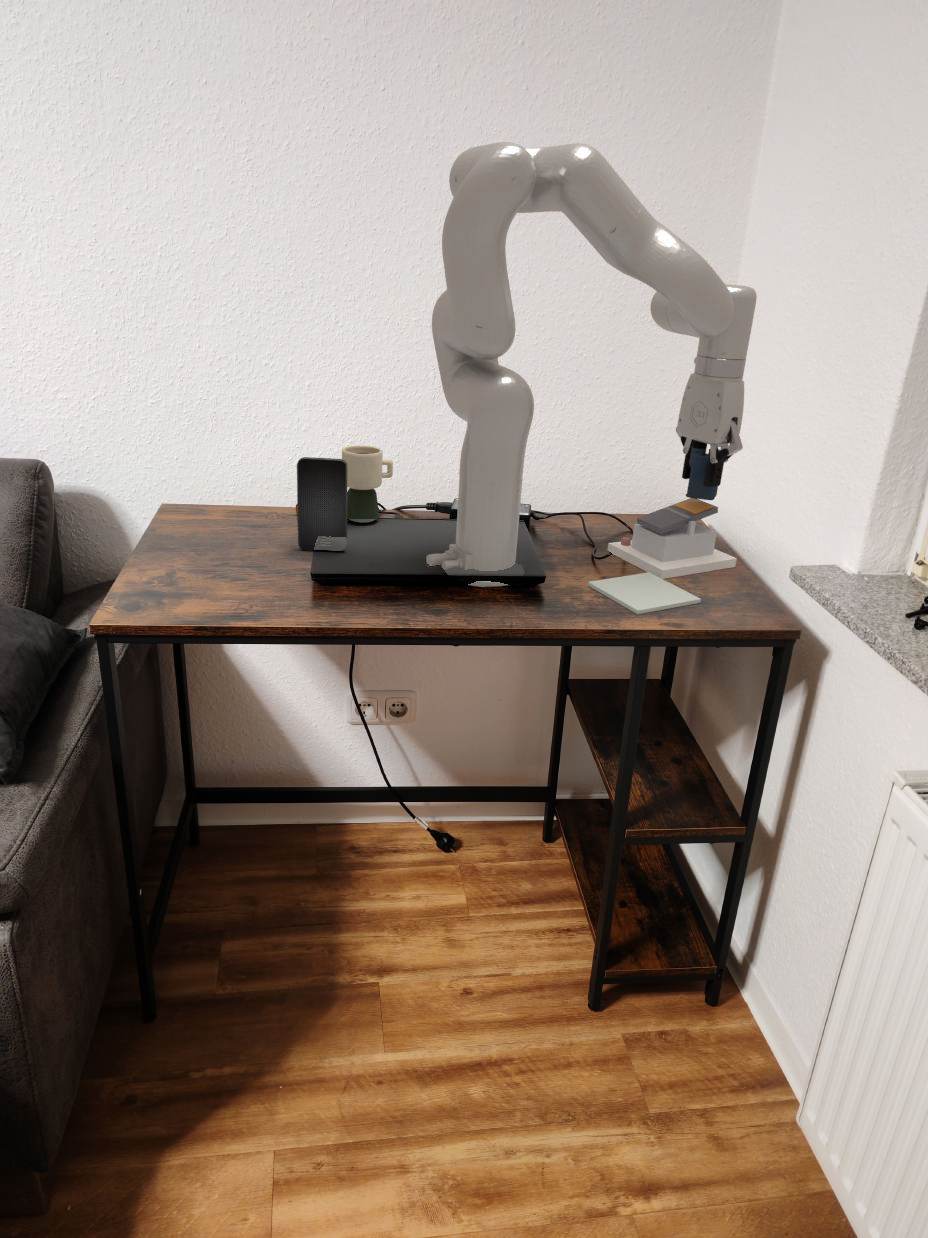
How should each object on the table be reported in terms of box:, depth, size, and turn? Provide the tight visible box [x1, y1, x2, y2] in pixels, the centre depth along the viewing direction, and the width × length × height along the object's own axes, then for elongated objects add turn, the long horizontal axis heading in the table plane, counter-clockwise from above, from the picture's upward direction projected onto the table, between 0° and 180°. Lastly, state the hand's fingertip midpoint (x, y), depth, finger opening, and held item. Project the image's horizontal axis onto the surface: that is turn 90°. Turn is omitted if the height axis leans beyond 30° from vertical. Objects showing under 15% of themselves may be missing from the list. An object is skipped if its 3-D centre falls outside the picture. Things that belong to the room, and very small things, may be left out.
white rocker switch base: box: [607, 521, 738, 580], centre depth 151 cm, size 16×14×8 cm
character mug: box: [341, 444, 394, 520], centre depth 159 cm, size 11×7×13 cm, turn 105°
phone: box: [296, 456, 348, 551], centre depth 143 cm, size 8×1×15 cm, turn 92°
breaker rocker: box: [636, 498, 719, 534], centre depth 149 cm, size 12×6×1 cm, turn 119°
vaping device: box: [685, 440, 721, 501], centre depth 148 cm, size 3×5×12 cm, turn 75°
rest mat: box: [587, 572, 702, 615], centre depth 136 cm, size 12×12×1 cm
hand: (700, 480), depth 149 cm, fingers closed on vaping device, 4 cm apart
